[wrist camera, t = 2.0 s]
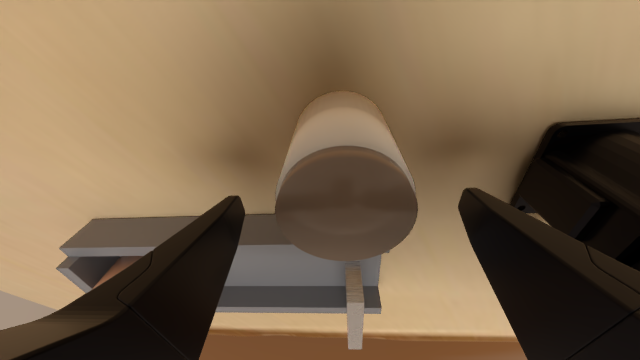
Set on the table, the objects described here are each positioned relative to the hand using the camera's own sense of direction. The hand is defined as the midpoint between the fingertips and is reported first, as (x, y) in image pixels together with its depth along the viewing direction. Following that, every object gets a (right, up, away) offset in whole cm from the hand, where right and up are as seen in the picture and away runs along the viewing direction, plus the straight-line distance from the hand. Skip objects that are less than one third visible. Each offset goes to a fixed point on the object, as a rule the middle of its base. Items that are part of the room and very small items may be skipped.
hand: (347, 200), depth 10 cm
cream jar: (0, +3, +5) cm, 6 cm away
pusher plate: (+1, -6, +10) cm, 12 cm away
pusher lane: (-8, -6, +12) cm, 16 cm away
